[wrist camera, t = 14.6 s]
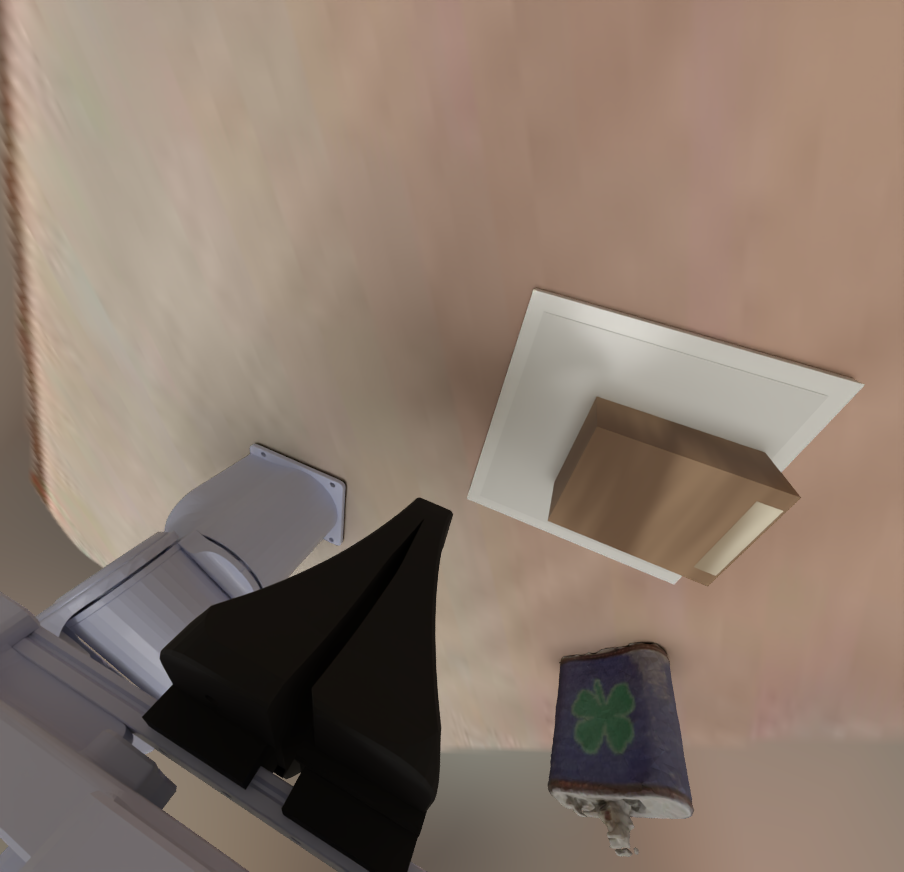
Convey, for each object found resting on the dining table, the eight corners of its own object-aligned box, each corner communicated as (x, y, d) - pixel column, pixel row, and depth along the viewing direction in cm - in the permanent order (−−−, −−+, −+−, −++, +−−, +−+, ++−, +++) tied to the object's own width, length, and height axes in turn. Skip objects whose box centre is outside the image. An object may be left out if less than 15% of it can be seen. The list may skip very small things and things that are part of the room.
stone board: (470, 491, 25) (466, 499, 24) (535, 287, 17) (532, 289, 17) (671, 574, 22) (674, 585, 22) (852, 378, 15) (866, 385, 14)
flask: (655, 637, 25) (686, 848, 17) (678, 663, 26) (721, 881, 17) (552, 657, 31) (535, 824, 22) (573, 677, 31) (565, 851, 22)
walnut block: (547, 520, 18) (707, 586, 17) (597, 426, 15) (800, 497, 14) (554, 482, 21) (691, 535, 20) (596, 396, 18) (765, 452, 16)
